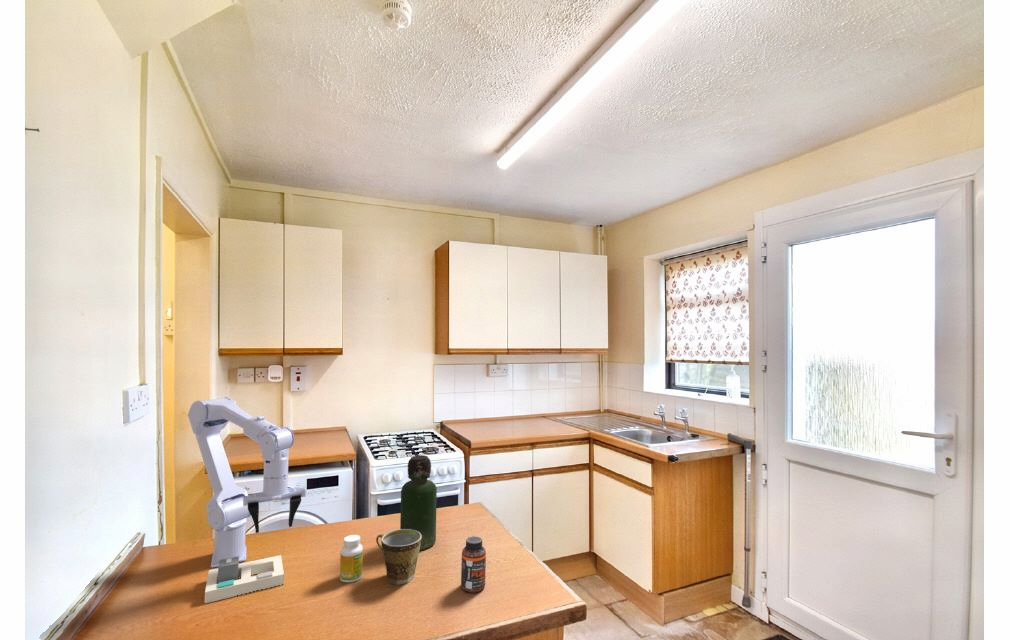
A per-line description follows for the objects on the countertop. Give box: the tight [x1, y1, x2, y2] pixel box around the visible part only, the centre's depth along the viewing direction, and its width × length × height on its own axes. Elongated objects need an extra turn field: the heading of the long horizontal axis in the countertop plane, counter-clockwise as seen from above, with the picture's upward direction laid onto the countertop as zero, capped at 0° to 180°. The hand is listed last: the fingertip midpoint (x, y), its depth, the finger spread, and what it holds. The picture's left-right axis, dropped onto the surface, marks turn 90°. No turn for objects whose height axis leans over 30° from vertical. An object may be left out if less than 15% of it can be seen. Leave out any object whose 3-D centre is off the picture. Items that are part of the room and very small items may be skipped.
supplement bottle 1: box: [339, 534, 364, 583], centre depth 111 cm, size 5×5×10 cm
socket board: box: [204, 554, 285, 604], centre depth 108 cm, size 11×16×3 cm
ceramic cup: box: [375, 528, 422, 586], centre depth 112 cm, size 13×10×10 cm
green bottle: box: [399, 454, 438, 551], centre depth 131 cm, size 10×10×25 cm
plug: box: [217, 556, 240, 584], centre depth 106 cm, size 4×4×6 cm
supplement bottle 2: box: [460, 536, 487, 594], centre depth 107 cm, size 6×6×11 cm
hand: (274, 528), depth 115 cm, fingers open, 7 cm apart
